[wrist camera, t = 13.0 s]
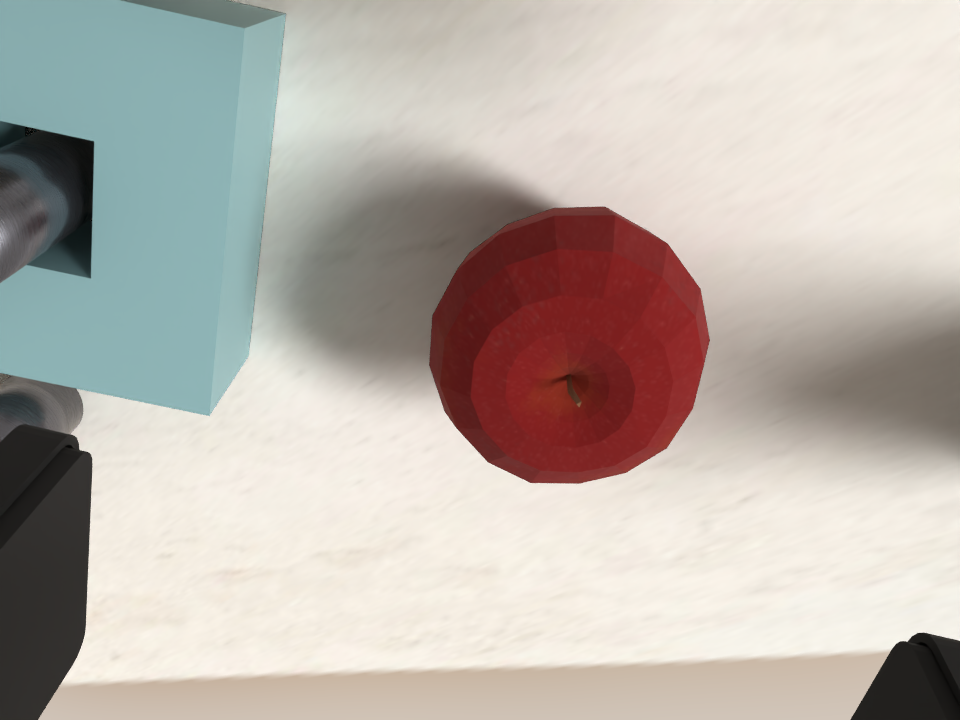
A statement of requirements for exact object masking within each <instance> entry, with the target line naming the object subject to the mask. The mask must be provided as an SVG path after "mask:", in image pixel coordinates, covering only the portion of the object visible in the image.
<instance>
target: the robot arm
mask: <svg viewBox="0 0 960 720" xmlns="http://www.w3.org/2000/svg"><path fill="white" fill-rule="evenodd" d="M91 484H92V457H91V454H90V453H88V452H85V451H81V450H79V443H78V440H77V438H76V437H75V436H73V435H70V434H66V433H62V432H57V431H53V430H49V429H44V428H40V427H36V426H32V425H27V424H22V425H19V426H17V427H16V428H15V429H13V430H12V431H11V432H10V433H9V434H8V435H7V436H6V437H5V438H4V439H3V440H2V441H1V442H0V720H38V719H39V717H40V715H41V714H42V712H43V710H44V709H45V708H46V706H47V704H48V703H49V701H50V700H51V698H52V696H53V695H54V693H55V692H56V690H57V689H58V687H59V685H60V684H61V682H62V681H63V679H64V678H65V676H66V674H67V673H68V671H69V670H70V668H71V667H72V665H73V663H74V661H75V660H76V658H77V656H78V653H79V651H80V648H81V646H82V643H83V639H84V635H85V628H86V604H87V580H88V556H89V532H90V508H91ZM851 720H960V641H958V640H954V639H949V638H945V637H941V636H936V635H932V634H928V633H917V634H916V635H914V636H912V637H911V638H910V640H909V641H908V642H906V641H901V642H899V643H897V644H896V645H895V646H894V647H893V649H892V650H891V652H890V654H889V655H888V657H887V659H886V660H885V662H884V664H883V665H882V667H881V669H880V671H879V672H878V674H877V676H876V677H875V679H874V681H873V682H872V684H871V686H870V688H869V689H868V691H867V693H866V695H865V696H864V698H863V700H862V701H861V703H860V704H859V706H858V708H857V710H856V712H855V713H854V715H853V716H852V718H851Z"/></svg>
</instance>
